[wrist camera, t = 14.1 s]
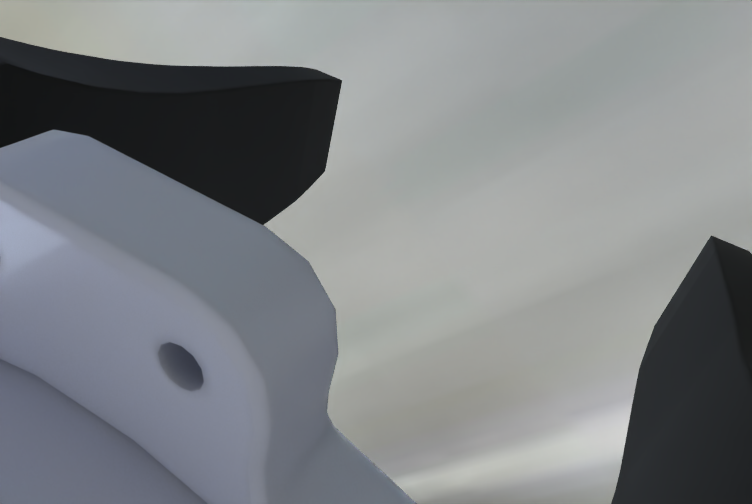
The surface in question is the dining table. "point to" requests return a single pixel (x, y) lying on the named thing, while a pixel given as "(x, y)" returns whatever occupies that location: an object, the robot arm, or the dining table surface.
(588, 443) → the dining table surface
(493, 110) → the dining table surface
